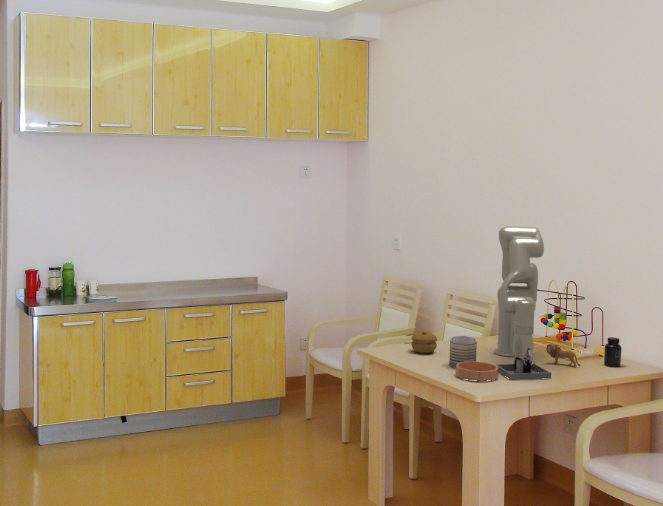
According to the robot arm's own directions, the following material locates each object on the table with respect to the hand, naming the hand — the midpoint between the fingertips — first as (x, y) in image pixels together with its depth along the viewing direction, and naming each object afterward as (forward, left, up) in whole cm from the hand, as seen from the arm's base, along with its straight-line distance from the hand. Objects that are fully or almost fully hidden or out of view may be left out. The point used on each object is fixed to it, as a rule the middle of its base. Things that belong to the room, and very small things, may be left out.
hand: (522, 371), depth 307 cm
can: (-16, -20, -1) cm, 26 cm away
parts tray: (0, 0, -1) cm, 1 cm away
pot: (-43, -29, -1) cm, 52 cm away
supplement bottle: (-10, +46, -1) cm, 47 cm away
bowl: (+1, -20, -1) cm, 20 cm away
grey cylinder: (0, 0, -1) cm, 1 cm away
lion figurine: (-13, +24, -1) cm, 27 cm away
